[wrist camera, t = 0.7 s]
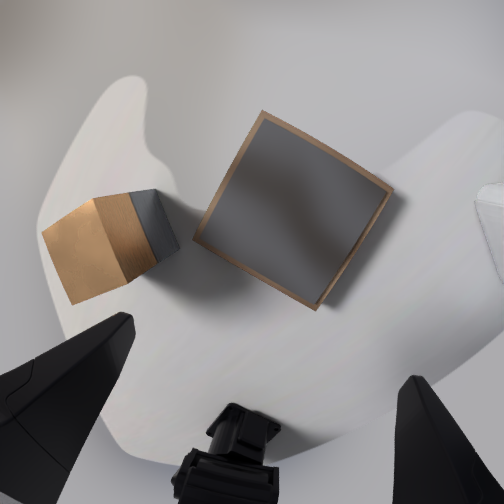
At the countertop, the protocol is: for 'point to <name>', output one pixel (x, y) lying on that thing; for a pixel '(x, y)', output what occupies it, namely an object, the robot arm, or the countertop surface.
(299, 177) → the walnut stand
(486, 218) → the photo printer
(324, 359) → the countertop surface
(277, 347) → the countertop surface
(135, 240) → the tan and grey block
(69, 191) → the countertop surface
